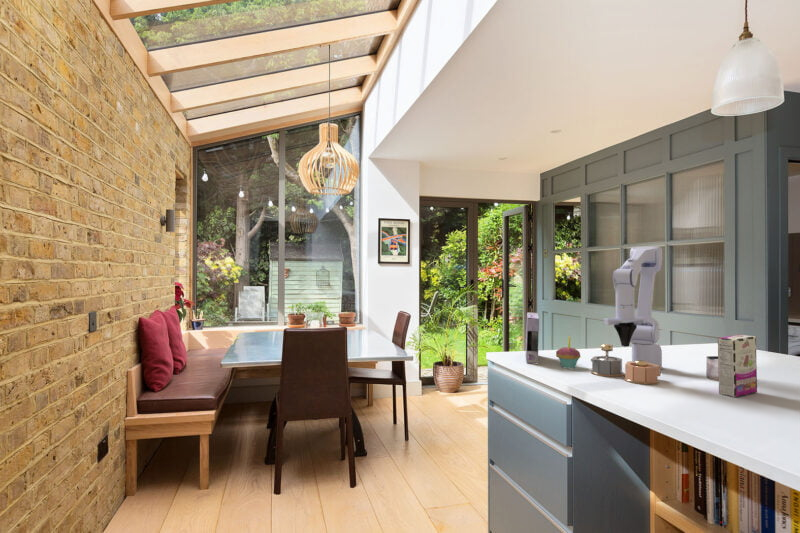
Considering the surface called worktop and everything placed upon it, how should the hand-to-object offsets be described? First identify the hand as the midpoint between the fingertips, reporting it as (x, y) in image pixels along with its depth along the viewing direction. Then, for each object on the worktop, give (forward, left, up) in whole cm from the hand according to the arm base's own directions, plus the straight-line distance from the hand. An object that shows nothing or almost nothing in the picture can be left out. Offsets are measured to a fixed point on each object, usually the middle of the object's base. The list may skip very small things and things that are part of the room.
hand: (625, 346), depth 165 cm
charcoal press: (+2, -6, -10) cm, 12 cm away
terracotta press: (-2, +6, -10) cm, 12 cm away
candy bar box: (-18, +26, -11) cm, 33 cm away
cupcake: (+9, -19, -11) cm, 24 cm away
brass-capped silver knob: (+2, -6, -6) cm, 9 cm away
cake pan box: (+15, -35, -11) cm, 40 cm away
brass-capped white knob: (-2, +6, -9) cm, 11 cm away
